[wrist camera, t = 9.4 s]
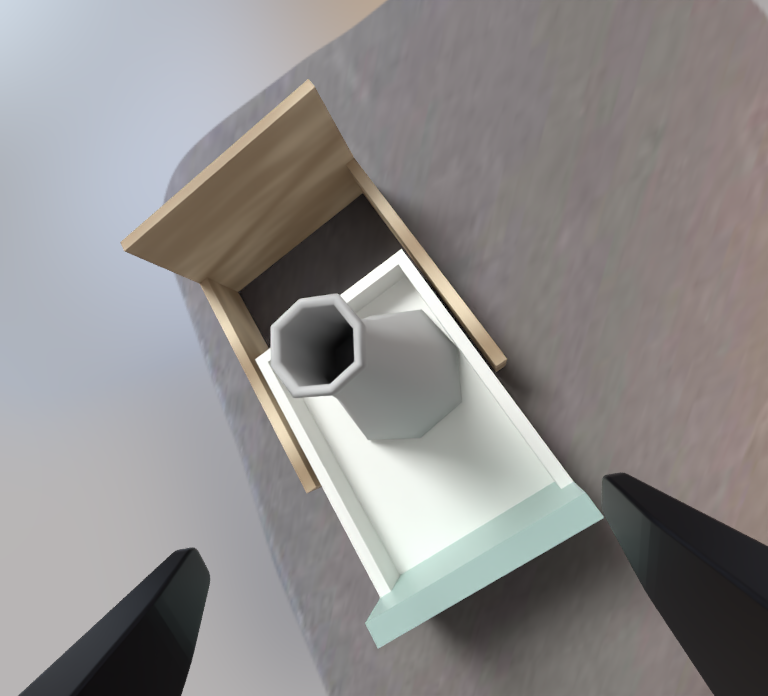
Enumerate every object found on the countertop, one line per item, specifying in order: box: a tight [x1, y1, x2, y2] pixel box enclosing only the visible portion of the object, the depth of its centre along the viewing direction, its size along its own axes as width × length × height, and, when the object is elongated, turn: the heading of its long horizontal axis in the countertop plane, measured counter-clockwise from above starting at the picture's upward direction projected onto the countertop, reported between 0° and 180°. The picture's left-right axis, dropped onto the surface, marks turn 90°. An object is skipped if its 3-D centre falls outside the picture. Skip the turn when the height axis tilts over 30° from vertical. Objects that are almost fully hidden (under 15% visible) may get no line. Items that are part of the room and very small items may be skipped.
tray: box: [255, 249, 604, 648], centre depth 19 cm, size 15×10×5 cm
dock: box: [121, 79, 507, 493], centre depth 20 cm, size 15×12×8 cm
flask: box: [271, 293, 462, 440], centre depth 16 cm, size 7×7×10 cm
